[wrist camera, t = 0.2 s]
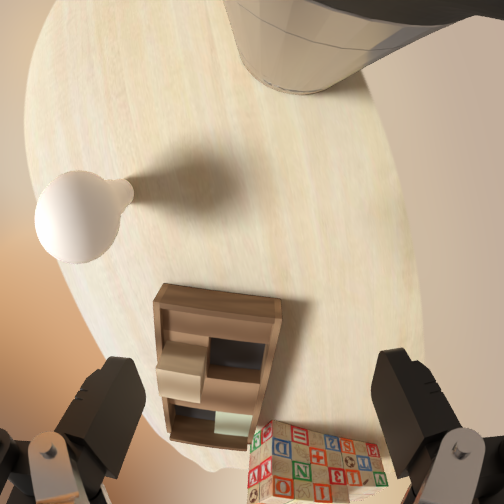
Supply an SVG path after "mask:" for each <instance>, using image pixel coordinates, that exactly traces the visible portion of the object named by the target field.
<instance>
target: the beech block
mask: <svg viewBox="0 0 504 504" xmlns="http://www.w3.org/2000/svg"><path fill="white" fill-rule="evenodd" d="M206 363H207V347H205V346H198V345H192V344H186V343H180V342H174V341H168V340H167V341H166V344H165V346H164V349H163V351H162V354H161V356H160V359H159V361H158V364H157V366H156V375H157V383H158V390H159V396H162V397H167V398H172V399H177V400H183V401H188V402H194V403H200V402H201V397H202V392H203V387H204V382H205V377H206Z"/></svg>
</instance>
